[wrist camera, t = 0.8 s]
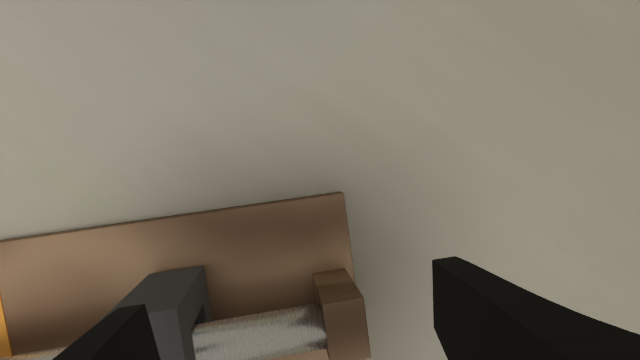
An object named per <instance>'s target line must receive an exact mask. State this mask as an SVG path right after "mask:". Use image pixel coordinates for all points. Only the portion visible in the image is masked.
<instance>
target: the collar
mask: <svg viewBox="0 0 640 360" xmlns="http://www.w3.org/2000/svg"><path fill="white" fill-rule="evenodd" d="M139 304H145V306H146V309H147V313H148V316H149V320H150V323H151V327H152V331H153V334H154V338H155V341H156V345H157V348H158V352H159V356H160V359H161V360H196V358H195V351H194V345H193V339H192V333H191V328H192V326H193V325H194V324H200V323H205V322H211V321H213V319H212V313H211V306H210V300H209V293H208V287H207V281H206V274H205V268H204V265H203V266H196V267H190V268H184V269H177V270H171V271H164V272H158V273H152V274H148V275H147V276H146V277H145V278H144V279H143V280H142V281H141V282H140V283H139V284H138V285H137V286H136V287H135V288H134V289H133V290H132V291H131V292H130V293H129V294H127V295H126V296H125V297H124V298H123V299H122V300H121V301H120V302H119V303H118V304H117V305H116V306H115V307H114V308H113V309H112V310H111V311H110V312H109V313H107V314H106V315H105V316H104V317H103V318H102V319H104V318H105V317H106V316H108V315H109V314H111V313H112V312H113V311H115V310H116V309H118V308H120V307H126V306H133V305H139ZM102 319H101V320H102ZM101 320H100V321H101ZM100 321H99V322H100Z"/></svg>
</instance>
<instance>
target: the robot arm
mask: <svg viewBox="0 0 640 360" xmlns="http://www.w3.org/2000/svg"><path fill="white" fill-rule="evenodd" d="M432 269H433V309H434V329H435V331H436V333H437V336H438V338H439V340H440V343H441V345H442V347H443V350H444V352H445V354H446V356H447V358H448V360H640V335H639V334H636V333H633V332H630V331H627V330H624V329H621V328H618V327H616V326H613V325H610V324H607V323H604V322H601V321H599V320H596V319H593V318H591V317H588V316H585V315H583V314H580V313H578V312H575V311H573V310H570V309H568V308H566V307H563V306H561V305H559V304H556V303H554V302H552V301H549V300H547V299H545V298H542V297H540V296H538V295H536V294H534V293H531V292H529V291H527V290H525V289H523V288H521V287H519V286H517V285H515V284H513V283H510V282H508V281H506V280H504V279H502V278H500V277H498V276H496V275H494V274H492V273H490V272H488V271H486V270H484V269H482V268H480V267H478V266H476V265H474V264H472V263H470V262H468V261H465V260H463V259H461V258H458V257H456V256H455V257H448V258H442V259H435V260H432ZM52 360H161V359H160V356H159V352H158V348H157V345H156V341H155V338H154V334H153V331H152V327H151V323H150V320H149V316H148V313H147V309H146V306H145V304H139V305H133V306H126V307H120V308H118V309H116V310H115V311H113V312H112V313H111V314H109V315H108V316H106V317H105V318H104V319H102V320H101V321H100V322H99V323H97V324H96V325H95V326H93V327H92V328H91V329H90V330H88V331H87V332H86V333H85V334H83V335H82V336H81V337H80V338H78V339H77V340H76V341H75V342H73V343H72V344H71V345H70V346H68V347H67V348H66V349H65V350H63V351H62V352H61V353H60V354H58V355H57V356H56V357H54V358H53V359H52Z"/></svg>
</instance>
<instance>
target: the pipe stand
mask: <svg viewBox="0 0 640 360" xmlns="http://www.w3.org/2000/svg"><path fill="white" fill-rule="evenodd" d="M203 265H204V268H205V274H206V281H207V287H208V293H209V300H210V306H211V313H212V319H213V321H211V322H205V323H200V324H194V325H193V326H192V328H191V333H192V339H193V345H194V351H195V358H196V360H365V358H370V357H371V353H370V345H369V337H368V329H367V321H366V313H365V305H364V298H363V296H362V294H361V293H360V291H359V290H358V288H357V286H356V285H355V279H354V271H353V263H352V255H351V248H350V240H349V232H348V224H347V216H346V208H345V200H344V193H342V192H334V193H327V194H320V195H313V196H306V197H299V198H292V199H285V200H278V201H271V202H264V203H257V204H250V205H243V206H236V207H229V208H222V209H215V210H208V211H201V212H194V213H187V214H180V215H173V216H166V217H160V218H153V219H146V220H139V221H132V222H125V223H118V224H111V225H104V226H97V227H90V228H83V229H76V230H69V231H62V232H55V233H48V234H41V235H34V236H27V237H20V238H13V239H6V240H0V360H52V359H53V358H54V357H56V356H57V355H58V354H60V353H61V352H62V351H63V350H65V349H66V348H67V347H68V346H70V345H71V344H72V343H73V342H75V341H76V340H77V339H78V338H80V337H81V336H82V335H83V334H85V333H86V332H87V331H88V330H90V329H91V328H92V327H93V326H95V325H96V324H97V323H99V321H100V320H101V319H102V318H103V317H104V316H105V315H106V314H107V313H109V312H110V311H111V310H112V309H113V308H114V307H115V306H116V305H117V304H118V303H119V302H120V301H121V300H122V299H123V298H124V297H125V296H126V295H127V294H129V293H130V292H131V291H132V290H133V289H134V288H135V287H136V286H137V285H138V284H139V283H140V282H141V281H142V280H143V279H144V278H145V277H146V276H147V275H148V274H152V273H158V272H164V271H171V270H177V269H184V268H190V267H196V266H203Z"/></svg>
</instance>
